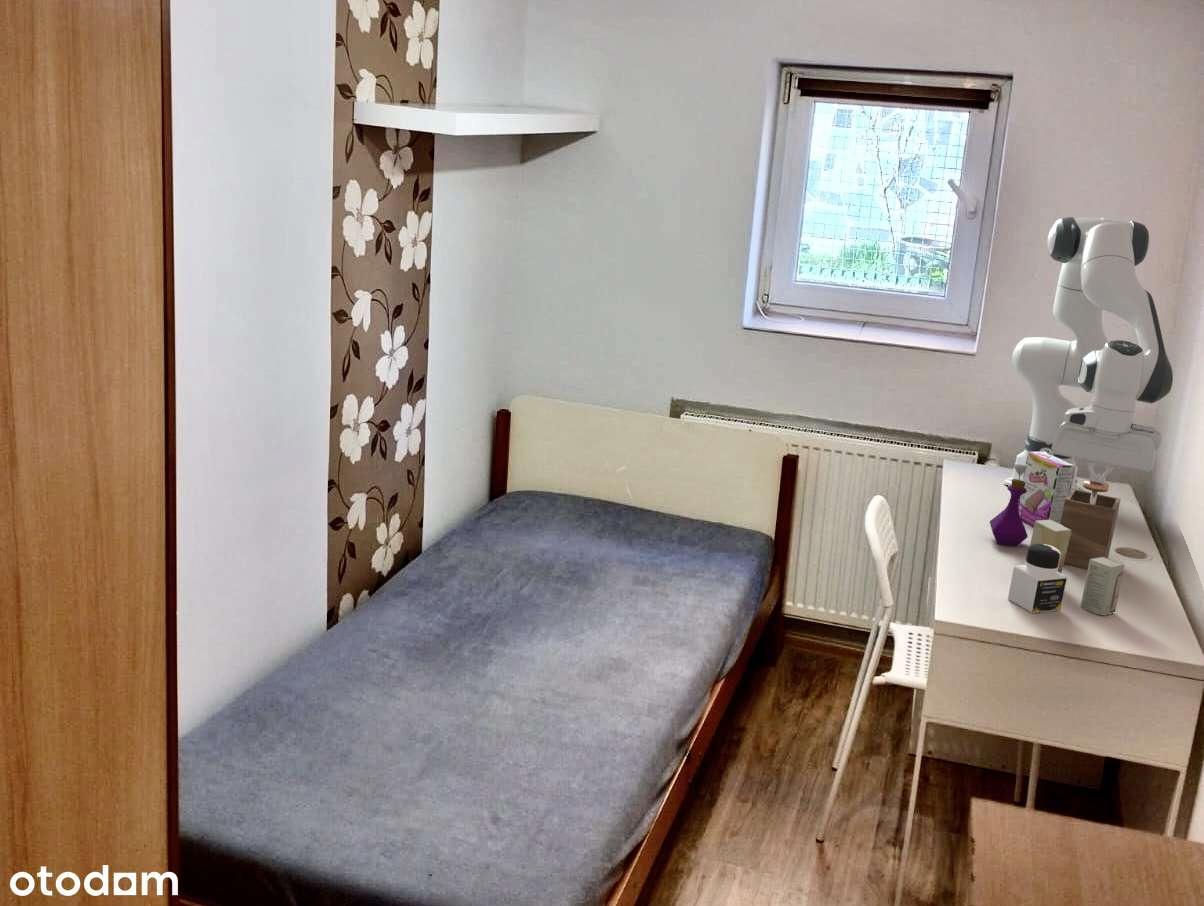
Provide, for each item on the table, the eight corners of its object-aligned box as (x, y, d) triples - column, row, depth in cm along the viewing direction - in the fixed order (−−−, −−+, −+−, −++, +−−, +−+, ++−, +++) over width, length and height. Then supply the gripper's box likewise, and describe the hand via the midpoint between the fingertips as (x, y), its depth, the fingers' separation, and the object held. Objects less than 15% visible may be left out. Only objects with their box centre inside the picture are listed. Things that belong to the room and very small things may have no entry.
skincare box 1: (1022, 575, 258) (1033, 519, 254) (1038, 574, 260) (1049, 518, 256) (1044, 587, 252) (1055, 530, 249) (1060, 586, 254) (1072, 529, 251)
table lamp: (1068, 533, 274) (1079, 474, 270) (1105, 541, 271) (1118, 482, 267) (1062, 542, 267) (1074, 483, 263) (1100, 551, 264) (1113, 491, 260)
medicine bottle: (1032, 614, 238) (1043, 554, 235) (1006, 599, 244) (1017, 541, 241) (1060, 610, 241) (1073, 552, 238) (1035, 596, 247) (1046, 539, 244)
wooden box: (1059, 548, 276) (1072, 488, 273) (1107, 559, 272) (1120, 498, 268) (1052, 561, 268) (1065, 499, 264) (1101, 573, 264) (1115, 510, 260)
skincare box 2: (1115, 613, 242) (1126, 565, 239) (1101, 617, 240) (1112, 567, 237) (1093, 603, 246) (1103, 555, 243) (1078, 606, 244) (1089, 558, 241)
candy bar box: (1014, 517, 296) (1026, 451, 291) (1031, 516, 297) (1044, 450, 293) (1045, 534, 286) (1058, 465, 281) (1062, 533, 287) (1076, 465, 283)
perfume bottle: (1025, 550, 273) (1040, 472, 268) (989, 545, 274) (1004, 467, 269) (1021, 539, 280) (1036, 462, 275) (987, 534, 282) (1001, 458, 277)
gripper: (1164, 426, 259) (1150, 490, 263) (1062, 407, 268) (1049, 469, 272) (1161, 432, 254) (1147, 497, 258) (1057, 413, 263) (1045, 475, 267)
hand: (1096, 482), depth 265 cm, fingers closed, pressing on table lamp
